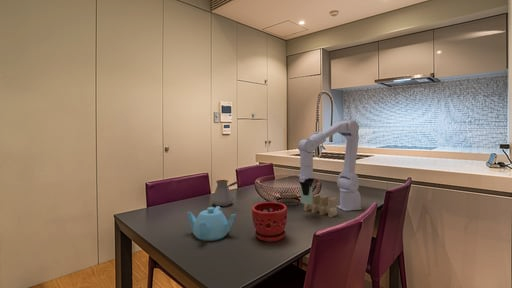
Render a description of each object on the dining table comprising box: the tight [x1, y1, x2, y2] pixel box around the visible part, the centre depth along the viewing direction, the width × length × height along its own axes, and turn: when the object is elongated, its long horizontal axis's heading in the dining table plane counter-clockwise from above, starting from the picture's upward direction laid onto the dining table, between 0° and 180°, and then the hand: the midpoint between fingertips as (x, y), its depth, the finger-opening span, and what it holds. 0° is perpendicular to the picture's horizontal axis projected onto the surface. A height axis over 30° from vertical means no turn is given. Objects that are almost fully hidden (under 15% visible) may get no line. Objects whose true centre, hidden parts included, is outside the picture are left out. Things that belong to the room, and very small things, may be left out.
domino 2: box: [311, 193, 321, 214], centre depth 138 cm, size 2×5×8 cm, turn 136°
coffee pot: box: [211, 179, 242, 207], centre depth 148 cm, size 21×12×15 cm, turn 39°
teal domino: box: [300, 186, 313, 205], centre depth 131 cm, size 2×5×8 cm, turn 62°
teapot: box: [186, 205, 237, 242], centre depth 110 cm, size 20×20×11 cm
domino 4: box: [327, 196, 338, 218], centre depth 132 cm, size 2×5×8 cm, turn 136°
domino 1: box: [303, 203, 312, 212], centre depth 141 cm, size 2×5×8 cm, turn 136°
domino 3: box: [319, 195, 329, 216], centre depth 135 cm, size 2×5×8 cm, turn 136°
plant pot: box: [251, 201, 288, 243], centre depth 107 cm, size 13×13×12 cm
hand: (306, 194), depth 131 cm, fingers closed on teal domino, 1 cm apart
